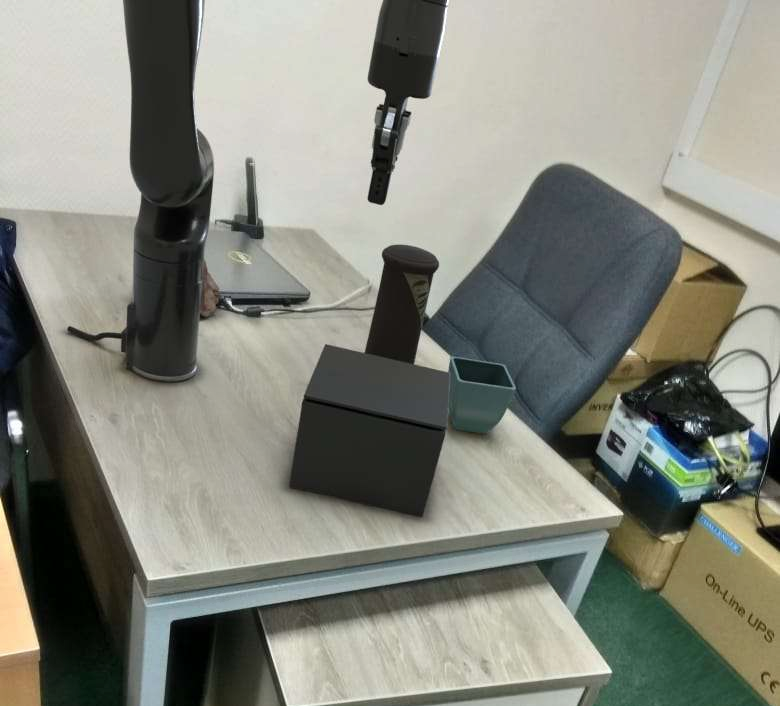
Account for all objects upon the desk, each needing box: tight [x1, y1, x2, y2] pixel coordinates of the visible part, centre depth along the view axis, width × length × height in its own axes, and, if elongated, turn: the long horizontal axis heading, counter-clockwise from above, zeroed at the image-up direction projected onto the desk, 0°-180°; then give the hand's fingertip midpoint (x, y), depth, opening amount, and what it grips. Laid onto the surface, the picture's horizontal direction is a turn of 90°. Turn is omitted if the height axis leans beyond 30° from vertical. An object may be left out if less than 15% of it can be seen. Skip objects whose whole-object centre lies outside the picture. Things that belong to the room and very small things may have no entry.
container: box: [364, 244, 440, 365], centre depth 129 cm, size 9×9×20 cm
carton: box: [288, 367, 449, 518], centre depth 103 cm, size 17×16×13 cm
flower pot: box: [447, 356, 517, 435], centre depth 121 cm, size 9×9×9 cm
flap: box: [315, 343, 450, 399], centre depth 103 cm, size 17×8×1 cm, turn 85°
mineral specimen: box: [200, 259, 221, 318], centre depth 135 cm, size 12×13×15 cm
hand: (376, 202), depth 100 cm, fingers closed
